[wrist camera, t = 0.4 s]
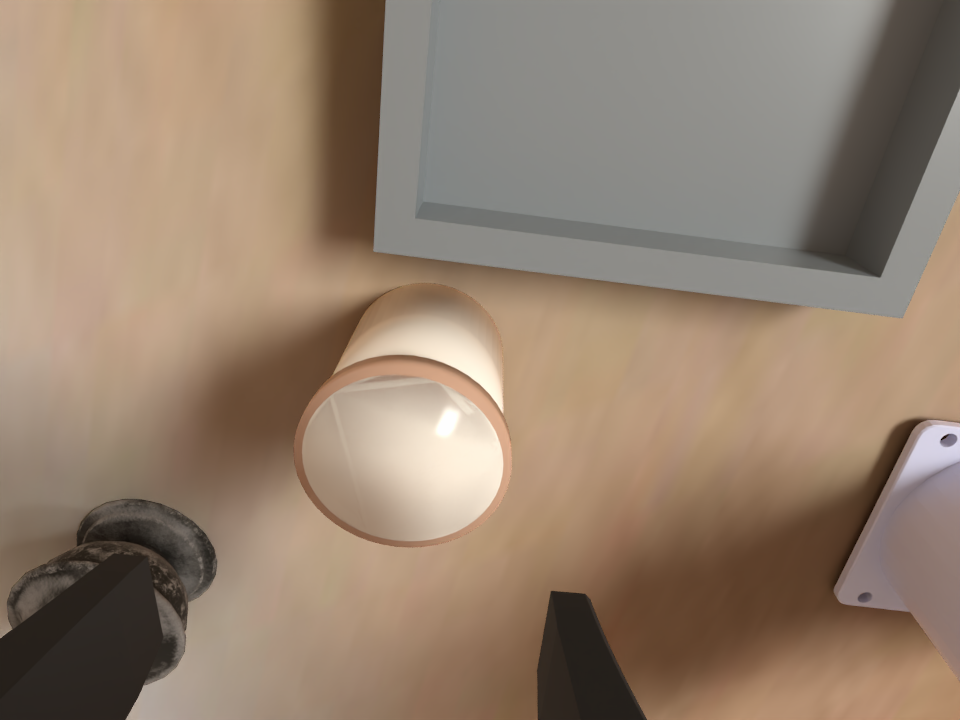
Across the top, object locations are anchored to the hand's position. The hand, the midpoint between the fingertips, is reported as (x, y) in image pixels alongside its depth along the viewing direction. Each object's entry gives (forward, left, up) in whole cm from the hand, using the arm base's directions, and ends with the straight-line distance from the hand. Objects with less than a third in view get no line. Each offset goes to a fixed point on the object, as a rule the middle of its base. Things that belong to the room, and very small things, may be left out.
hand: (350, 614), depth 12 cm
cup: (0, 0, -10) cm, 10 cm away
